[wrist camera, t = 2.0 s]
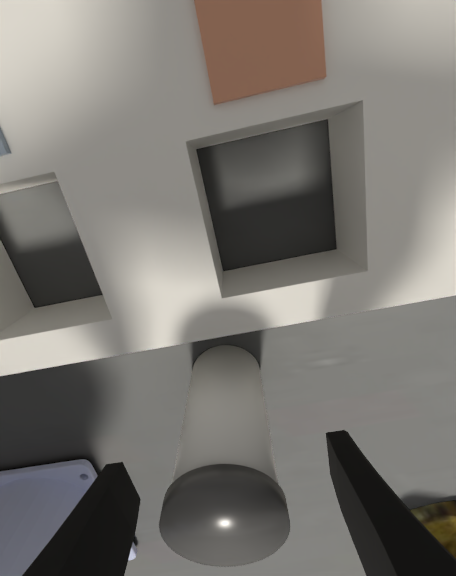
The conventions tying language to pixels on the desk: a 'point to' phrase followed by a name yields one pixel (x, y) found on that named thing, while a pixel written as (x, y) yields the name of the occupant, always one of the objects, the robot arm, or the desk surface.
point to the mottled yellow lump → (440, 522)
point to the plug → (225, 468)
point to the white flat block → (215, 130)
